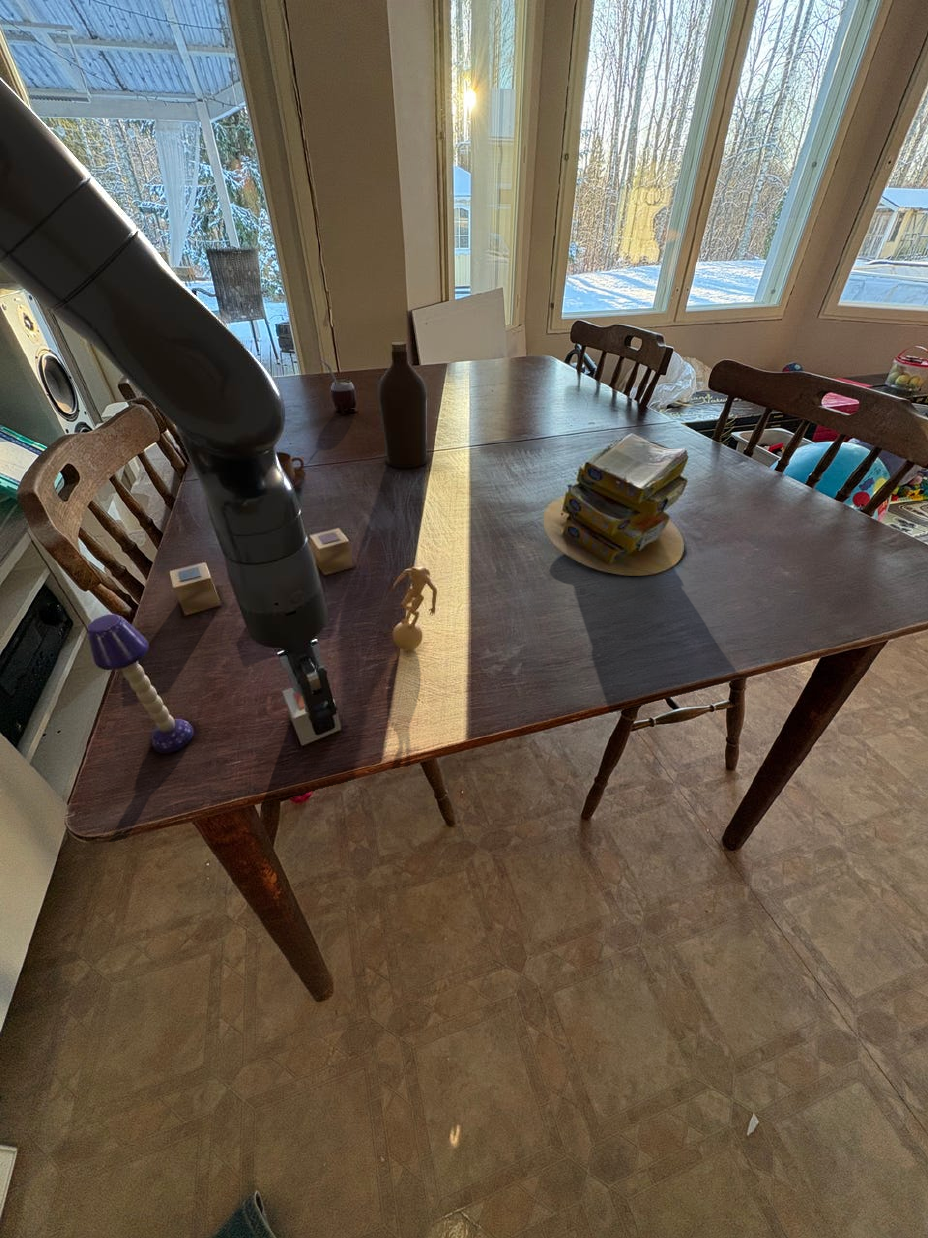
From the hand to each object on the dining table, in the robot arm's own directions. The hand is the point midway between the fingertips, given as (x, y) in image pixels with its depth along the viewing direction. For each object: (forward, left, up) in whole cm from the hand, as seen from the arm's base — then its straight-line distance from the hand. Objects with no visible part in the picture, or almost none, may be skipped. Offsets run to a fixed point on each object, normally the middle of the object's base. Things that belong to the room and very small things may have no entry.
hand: (313, 704), depth 57 cm
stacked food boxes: (+59, +15, -3) cm, 61 cm away
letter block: (0, 0, -3) cm, 3 cm away
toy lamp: (-15, +6, -3) cm, 17 cm away
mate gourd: (+43, +111, -3) cm, 119 cm away
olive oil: (+43, +67, -3) cm, 79 cm away
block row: (+2, +32, -3) cm, 32 cm away
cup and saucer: (+13, +68, -3) cm, 69 cm away
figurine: (+16, +7, -3) cm, 18 cm away
